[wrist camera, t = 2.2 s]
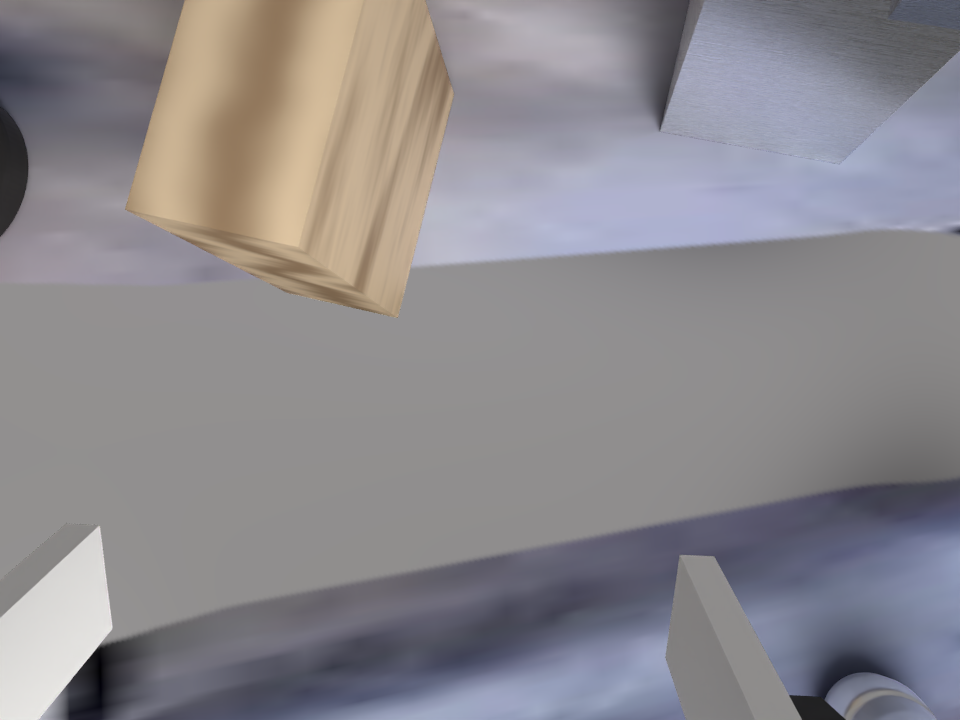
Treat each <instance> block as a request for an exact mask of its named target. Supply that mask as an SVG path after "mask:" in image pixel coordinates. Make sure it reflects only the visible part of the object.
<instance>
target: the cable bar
mask: <svg viewBox="0 0 960 720" xmlns="http://www.w3.org/2000/svg"><path fill="white" fill-rule="evenodd" d="M887 19H892V20H899V21H905V22H912V23H918V24H925V25H931V26H938V27H944V28H951V29H957V30H960V0H891V4H890V9H889V14H888V18H887Z"/></svg>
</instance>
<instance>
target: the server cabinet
mask: <svg viewBox="0 0 960 720" xmlns="http://www.w3.org/2000/svg"><path fill="white" fill-rule="evenodd" d="M890 4H891V0H690V2H689V6H688V11H687V15H686V19H685V24H684V28H683V33H682V37H681V41H680V46H679V50H678V54H677V59H676V63H675V68H674V72H673V76H672V81H671V85H670V89H669V94H668V98H667V103H666V107H665V111H664V116H663V120H662V124H661V129H660V132H664V133H669V134H675V135H680V136H686V137H691V138H697V139H702V140H708V141H713V142H719V143H724V144H730V145H735V146H741V147H746V148H752V149H757V150H763V151H768V152H774V153H779V154H785V155H790V156H796V157H801V158H807V159H812V160H818V161H823V162H829V163H834V164H841V163H842V162H843V161H844V160H845V159H846V158H847V157H848V156H849V155H850V154H851V153H852V152H853V151H854V150H855V149H856V148H857V147H859V146H860V145H861V144H862V143H863V142H864V141H865V140H866V139H867V138H868V137H869V136H870V135H871V134H872V133H873V132H874V131H875V130H876V129H878V128H879V127H880V126H881V125H882V124H883V123H884V122H885V121H886V120H887V119H888V118H889V117H890V116H891V115H892V114H893V113H894V112H895V111H897V110H898V109H899V108H900V107H901V106H902V105H903V104H904V103H905V102H906V101H907V100H908V99H909V98H910V97H911V96H912V95H913V94H914V93H916V92H917V91H918V90H919V89H920V88H921V87H922V86H923V85H924V84H925V83H926V82H927V81H928V80H929V79H930V78H931V77H932V76H934V75H935V74H936V73H937V72H938V71H939V70H940V69H941V68H942V67H943V66H944V65H945V64H946V63H947V62H948V61H949V60H950V59H951V58H953V57H954V56H955V55H956V54H957V53H958V52H959V51H960V30H957V29H951V28H944V27H938V26H931V25H925V24H918V23H912V22H905V21H899V20H892V19H887V18H888V14H889V9H890Z"/></svg>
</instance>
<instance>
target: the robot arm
mask: <svg viewBox="0 0 960 720" xmlns="http://www.w3.org/2000/svg"><path fill="white" fill-rule="evenodd" d="M27 177H28V159H27V152H26V147H25V143H24V140H23V137H22V135H21V133H20V131H19V129H18V127H17V125H16V124H15V122H14V121H13V119H12V118H11V117H10V115H9V114H8V113H7V112H6V111H5V110H4V109H3V108H1V107H0V236H1V235H2V234H3V233H4V232H5V230H6V229H7V228H8V227H9V225H10V224H11V222H12V221H13V219H14V217H15V215H16V214H17V212H18V209H19V207H20V205H21V202H22V200H23V197H24V193H25V189H26V184H27ZM111 630H112V620H111V612H110V604H109V596H108V588H107V580H106V572H105V564H104V556H103V549H102V540H101V532H100V525H86V524H67V523H66V524H65V525H64V526H63V527H61V528H60V529H59V530H58V531H57V532H56V533H54V534H53V535H52V536H51V537H50V538H49V539H47V540H46V541H45V542H44V543H43V544H42V545H40V546H39V547H38V548H37V549H36V550H35V551H33V552H32V553H31V554H30V555H29V556H28V557H26V558H25V559H24V560H23V561H22V562H21V563H19V564H18V565H17V566H16V567H15V568H14V569H12V570H11V571H10V572H9V573H8V574H6V575H5V576H4V577H3V578H2V579H1V580H0V720H39V718H40V717H41V716H42V715H43V714H44V712H45V711H46V710H47V709H48V707H49V706H50V705H51V704H52V702H53V701H54V700H55V699H56V698H57V696H58V695H59V694H60V693H61V691H62V690H63V689H64V688H65V686H66V685H67V684H68V683H69V682H70V680H71V679H72V678H73V677H74V675H75V674H76V673H77V672H78V670H79V669H80V668H81V667H82V666H83V664H84V663H85V662H86V661H87V659H88V658H89V657H90V656H91V654H92V653H93V652H94V651H95V650H96V648H97V647H98V646H99V645H100V643H101V642H102V641H103V640H104V638H105V637H106V636H107V635H108V633H109V632H110V631H111ZM665 658H666V661H667V664H668V667H669V670H670V673H671V676H672V679H673V682H674V685H675V688H676V691H677V694H678V697H679V700H680V703H681V706H682V709H683V712H684V715H685V718H686V720H846V719H845V718H844V717H842V716H841V715H840V714H839V713H838V712H837V711H836V710H835V709H834V708H833V707H831V706H830V705H829V704H828V703H827V702H826V701H825V700H824V699H823V698H822V697H813V696H794V695H788V693H787V691H786V689H785V687H784V685H783V683H782V682H781V680H780V678H779V676H778V674H777V672H776V670H775V669H774V667H773V665H772V663H771V661H770V659H769V658H768V656H767V654H766V652H765V650H764V648H763V646H762V645H761V643H760V641H759V639H758V637H757V635H756V633H755V632H754V630H753V628H752V626H751V624H750V622H749V620H748V619H747V617H746V615H745V613H744V611H743V609H742V607H741V606H740V604H739V602H738V600H737V598H736V596H735V594H734V593H733V591H732V589H731V587H730V585H729V583H728V581H727V580H726V578H725V576H724V574H723V572H722V570H721V569H720V567H719V565H718V563H717V561H716V559H715V557H712V556H692V555H680V558H679V565H678V572H677V579H676V586H675V593H674V600H673V607H672V614H671V621H670V628H669V635H668V643H667V650H666V657H665Z"/></svg>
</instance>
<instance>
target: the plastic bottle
mask: <svg viewBox="0 0 960 720" xmlns="http://www.w3.org/2000/svg"><path fill="white" fill-rule="evenodd" d="M825 701H826V702H827V703H828V704H829V705H830V706H831V707H833V708H834V709H835V710H836V711H837V712H838V713H839V714H840V715H841V716H842V717H844V718H845V719H846V720H938V719H937V718H936V717H935V716H934V714H933V713H932V711H931V710H930V709H929V708H928V707H927V706H926V704H925V703H924V702H923V701H922V700H921V699H920V698H919V697H918V696H917V695H916V694H915V693H914V692H913V691H912V690H911V689H909V688H908V687H907V686H905V685H904V684H902V683H900V682H898V681H896V680H894V679H891V678H888V677H885V676H882V675H879V674H876V673H869V672H860V673H854V674H851V675H848V676H846V677H844V678H842V679H840V680H839V681H838V682H837V683H835V684H834V685H833V687H832V688H831V689H830V690H829V692H828V694H827V696H826V698H825Z"/></svg>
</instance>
